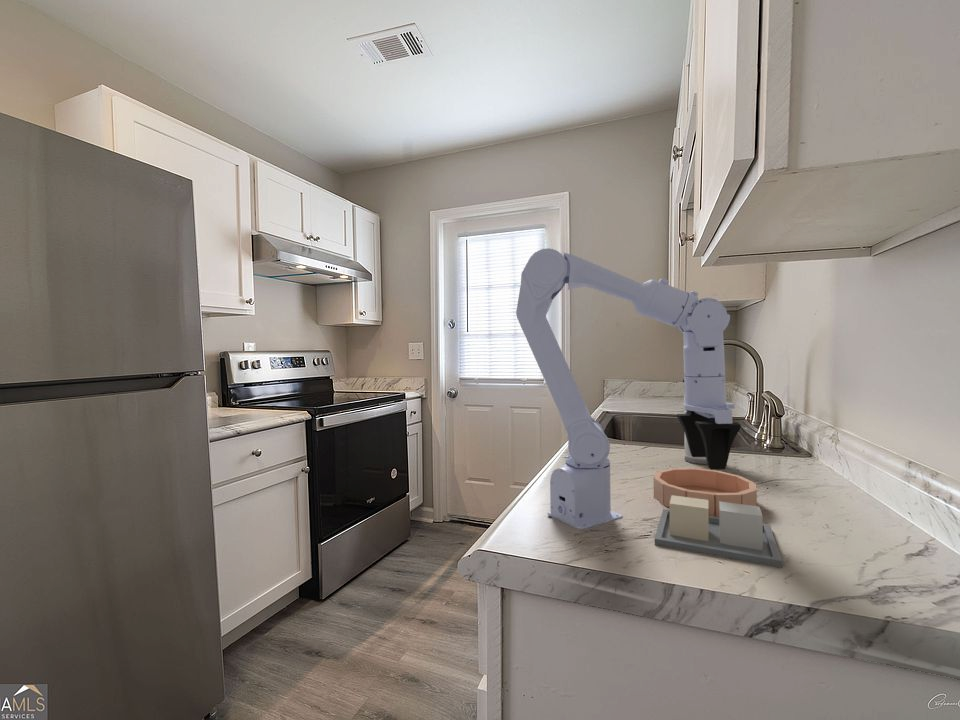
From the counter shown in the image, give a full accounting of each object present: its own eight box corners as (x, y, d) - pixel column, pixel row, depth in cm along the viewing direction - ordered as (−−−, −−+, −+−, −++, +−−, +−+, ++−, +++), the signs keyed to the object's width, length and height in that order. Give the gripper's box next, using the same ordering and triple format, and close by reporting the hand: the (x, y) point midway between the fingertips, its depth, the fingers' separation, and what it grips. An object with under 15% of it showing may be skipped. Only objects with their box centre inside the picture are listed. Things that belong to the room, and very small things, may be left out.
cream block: (669, 534, 63) (669, 503, 63) (671, 524, 67) (671, 495, 67) (708, 541, 61) (708, 508, 61) (708, 530, 64) (708, 499, 64)
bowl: (720, 527, 67) (720, 501, 66) (636, 497, 80) (635, 476, 80) (775, 507, 75) (775, 484, 74) (689, 483, 88) (689, 464, 88)
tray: (781, 570, 53) (781, 561, 53) (654, 547, 60) (654, 538, 60) (769, 532, 64) (769, 524, 64) (663, 516, 71) (663, 508, 71)
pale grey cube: (719, 543, 60) (719, 510, 60) (719, 532, 64) (719, 501, 64) (762, 550, 58) (762, 516, 58) (759, 538, 61) (759, 506, 61)
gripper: (754, 377, 60) (757, 475, 60) (713, 372, 74) (716, 451, 75) (700, 379, 61) (704, 475, 61) (670, 374, 75) (673, 452, 76)
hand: (707, 462), depth 68 cm, fingers open, 7 cm apart
